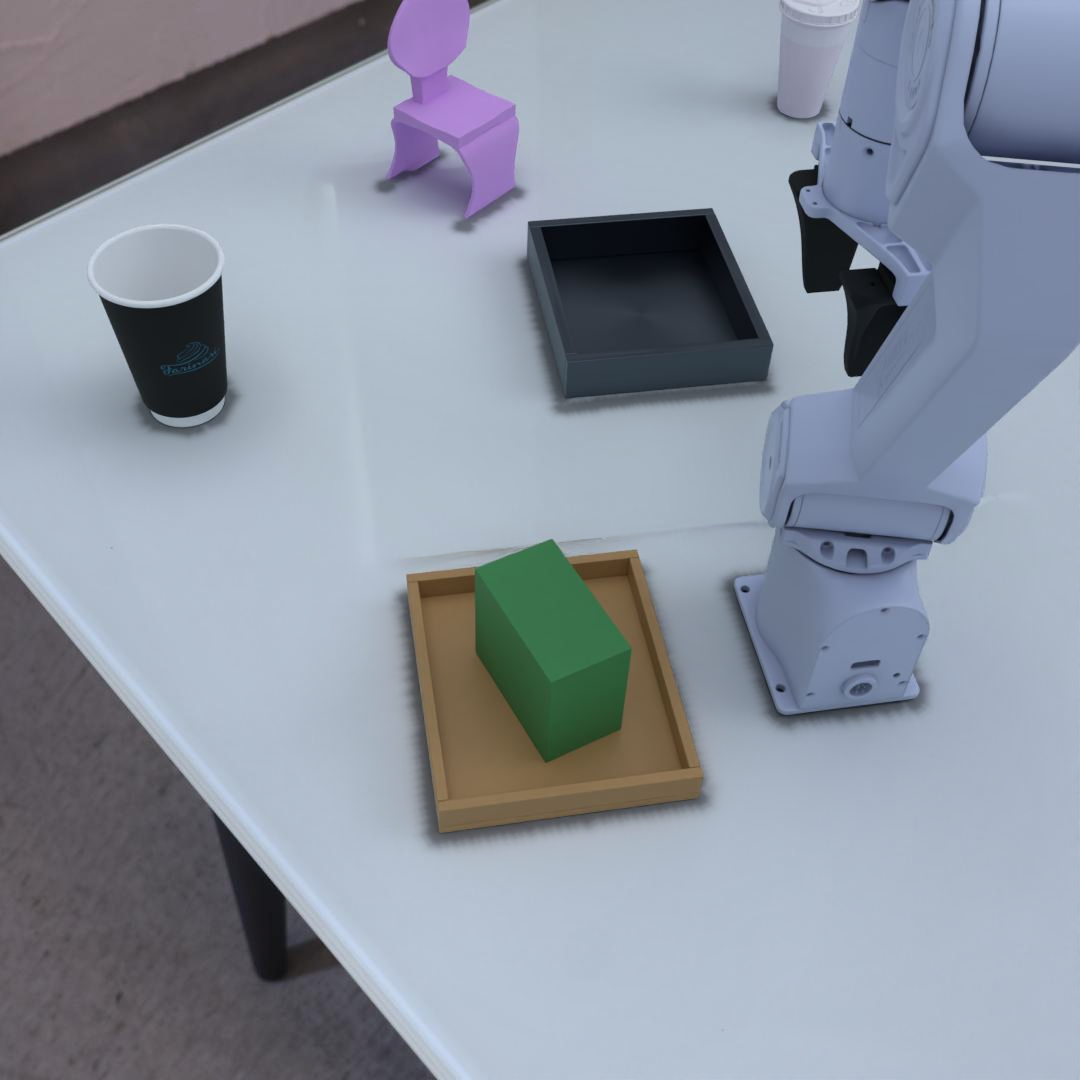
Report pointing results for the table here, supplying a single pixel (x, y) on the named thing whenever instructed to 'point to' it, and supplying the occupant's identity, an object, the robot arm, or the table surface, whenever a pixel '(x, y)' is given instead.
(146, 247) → the dixie cup
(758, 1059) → the table surface
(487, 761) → the tray
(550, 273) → the dark grey tray
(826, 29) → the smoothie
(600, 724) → the green rectangular block
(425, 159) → the toy chair
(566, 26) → the table surface
